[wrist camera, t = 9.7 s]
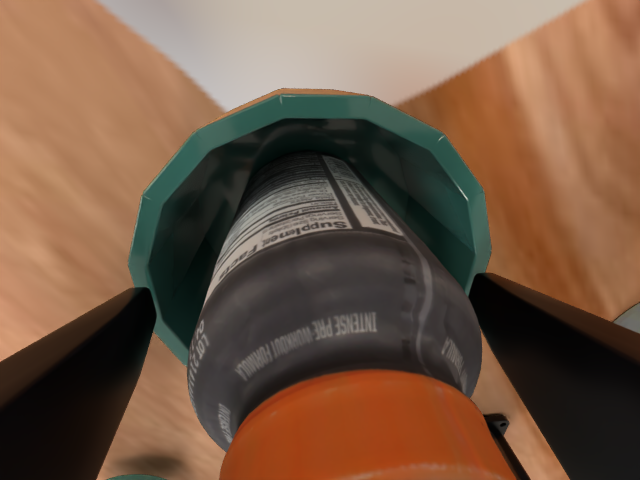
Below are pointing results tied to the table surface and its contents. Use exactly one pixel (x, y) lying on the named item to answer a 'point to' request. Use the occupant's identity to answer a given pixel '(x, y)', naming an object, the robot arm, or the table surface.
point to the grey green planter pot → (630, 319)
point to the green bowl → (279, 139)
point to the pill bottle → (336, 340)
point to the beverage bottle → (136, 477)
